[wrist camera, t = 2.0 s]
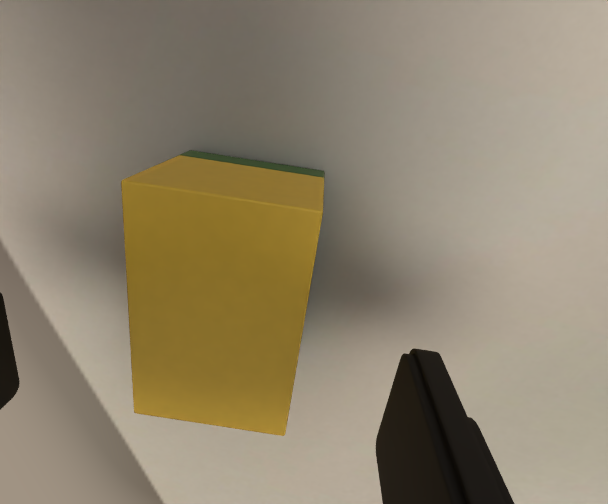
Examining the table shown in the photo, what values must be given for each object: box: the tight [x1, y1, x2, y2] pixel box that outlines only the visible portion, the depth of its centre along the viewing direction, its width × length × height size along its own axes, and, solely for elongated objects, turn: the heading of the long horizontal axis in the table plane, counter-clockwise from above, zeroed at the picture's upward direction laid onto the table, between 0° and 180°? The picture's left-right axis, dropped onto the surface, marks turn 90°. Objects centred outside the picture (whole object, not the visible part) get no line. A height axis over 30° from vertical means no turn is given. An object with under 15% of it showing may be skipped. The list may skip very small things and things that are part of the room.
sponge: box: [121, 150, 325, 436], centre depth 12 cm, size 7×4×4 cm, turn 172°
